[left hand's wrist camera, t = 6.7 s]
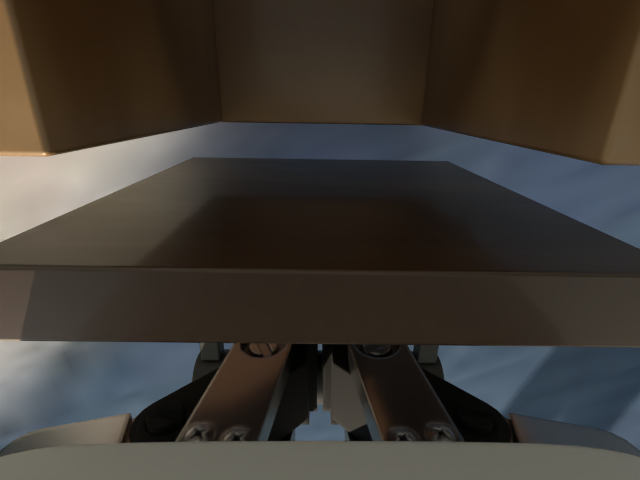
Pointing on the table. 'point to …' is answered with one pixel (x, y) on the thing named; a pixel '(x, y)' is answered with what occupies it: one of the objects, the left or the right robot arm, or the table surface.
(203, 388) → the left robot arm
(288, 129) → the table surface
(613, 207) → the table surface
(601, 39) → the drawer
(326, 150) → the table surface
